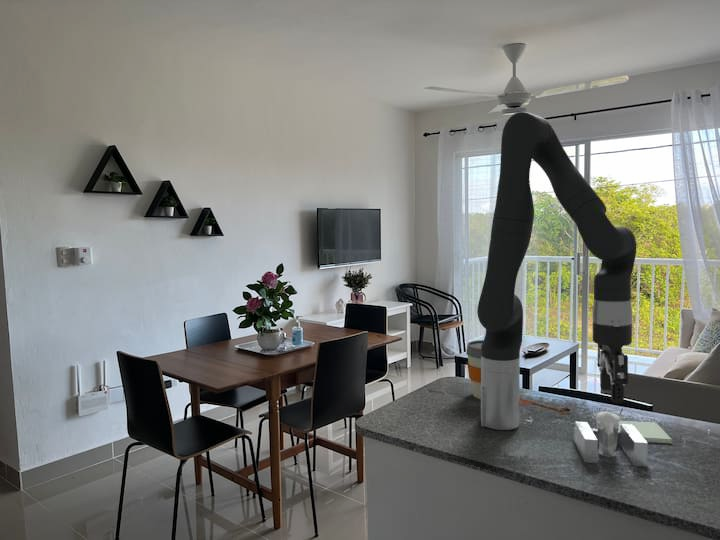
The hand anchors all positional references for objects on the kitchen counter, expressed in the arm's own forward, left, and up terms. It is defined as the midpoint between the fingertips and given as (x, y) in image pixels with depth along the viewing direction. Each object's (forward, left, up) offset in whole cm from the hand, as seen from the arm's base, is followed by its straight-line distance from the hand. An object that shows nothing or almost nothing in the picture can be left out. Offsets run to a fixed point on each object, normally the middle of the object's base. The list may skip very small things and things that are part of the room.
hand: (611, 395), depth 112 cm
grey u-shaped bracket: (0, 0, -13) cm, 13 cm away
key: (-10, +28, -13) cm, 33 cm away
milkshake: (0, 0, -13) cm, 13 cm away
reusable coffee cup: (-24, +36, -13) cm, 45 cm away
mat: (+10, +13, -13) cm, 21 cm away
